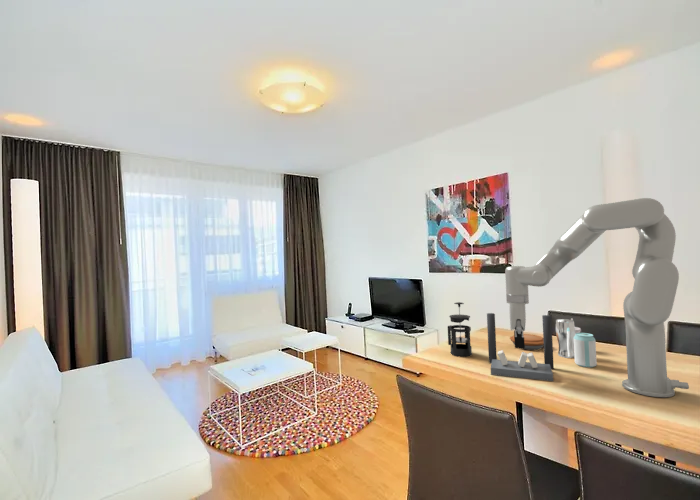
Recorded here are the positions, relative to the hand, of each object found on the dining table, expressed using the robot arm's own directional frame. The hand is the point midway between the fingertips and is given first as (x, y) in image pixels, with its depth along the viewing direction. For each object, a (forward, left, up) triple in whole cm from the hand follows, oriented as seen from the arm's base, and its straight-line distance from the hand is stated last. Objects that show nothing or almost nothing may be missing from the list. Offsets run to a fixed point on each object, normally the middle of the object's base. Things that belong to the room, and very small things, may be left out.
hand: (519, 344), depth 128 cm
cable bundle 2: (-10, -8, -10) cm, 17 cm away
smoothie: (-22, -38, -10) cm, 46 cm away
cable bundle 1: (+10, -8, -10) cm, 17 cm away
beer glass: (-18, -27, -10) cm, 34 cm away
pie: (-4, -38, -11) cm, 40 cm away
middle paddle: (0, +1, -8) cm, 8 cm away
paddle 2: (-5, +1, -8) cm, 9 cm away
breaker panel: (0, +1, -10) cm, 10 cm away
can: (-23, -16, -10) cm, 30 cm away
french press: (+24, -17, -10) cm, 31 cm away
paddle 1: (+5, +1, -8) cm, 9 cm away
